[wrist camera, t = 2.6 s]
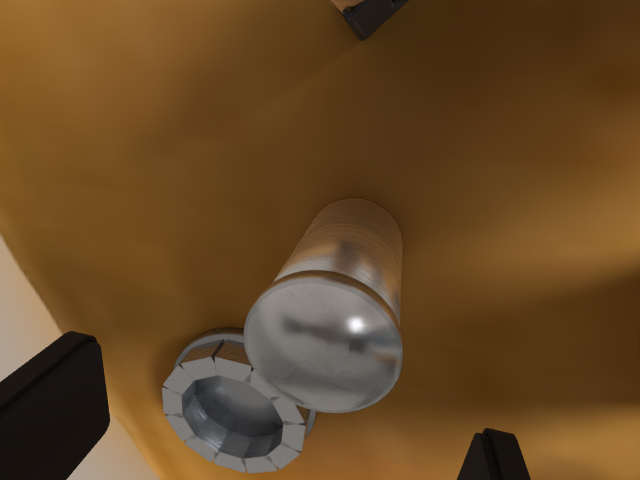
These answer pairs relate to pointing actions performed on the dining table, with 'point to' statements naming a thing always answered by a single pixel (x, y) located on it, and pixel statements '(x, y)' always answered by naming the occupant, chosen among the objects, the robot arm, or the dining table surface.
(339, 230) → the silver metal cylinder
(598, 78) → the dining table surface
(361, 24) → the ammunition clip
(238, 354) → the duct flange
